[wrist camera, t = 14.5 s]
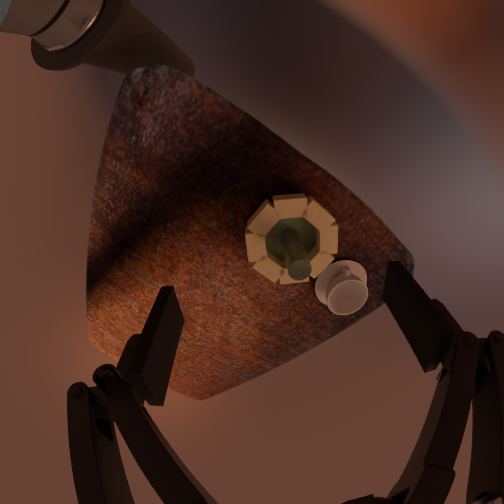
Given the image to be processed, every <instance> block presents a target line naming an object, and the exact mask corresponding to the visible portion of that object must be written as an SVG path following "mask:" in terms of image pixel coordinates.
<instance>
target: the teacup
mask: <svg viewBox="0 0 504 504" xmlns="http://www.w3.org/2000/svg"><path fill="white" fill-rule="evenodd" d="M366 282H367V276H366V272H365V270H364V268H363V267H362V266H361V265H360V264H359V263H357V262H355V261H351V260H342V261H337V262H335V263H332V264H330V265H329V266H327V267H326V268H325V269H324V270H323V271H322V272H321V273H320V274H319V276H318V278H317V280H316V283H315V293H316V296H317V297H318V299H319V300H320V301H321V302H322V303H324V304H326V305H328V307H329V309H330V310H331V311H332V312H333V313H335V314H338V315H347V314H351V313H353V312H355V311H357V310H358V309H360V308H361V307H362V306H363V305H364V303H365V302H366V300H367V297H368V289H367V286H366Z"/></svg>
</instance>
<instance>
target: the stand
mask: <svg viewBox="0 0 504 504" xmlns="http://www.w3.org/2000/svg"><path fill="white" fill-rule="evenodd" d="M265 243H266V250H268V251H269V252H270V253H272V254H273V255H274V256H276V257H277V258H278V259H280V260H281V261H285V262H286V266H287V271H288V274H289V276H290V277H291V278H292V279H294V280H298V281H300V280H304V279H306V278H307V277H309V275H310V274H311V271H312V266H311V264H310V261H309V258H308V256H307V253H308V252H309V251H310V250H311V249H312V248H313V247H314V246H315V245H316V227H315V226H313V225H312V224H311V223H310V222H309V221H308V220H306V219H305V218H304V217H297V218H286V219H280V220H279V221H278V222H277V223H276V224H275V225H274V226H273V228H272V229H271V230H270V231H269V232H268V233H267V234H266V235H265Z"/></svg>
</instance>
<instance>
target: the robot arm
mask: <svg viewBox="0 0 504 504" xmlns="http://www.w3.org/2000/svg"><path fill="white" fill-rule="evenodd" d="M105 4H106V0H0V32H6V33H14V34H20V35H26V36H31V37H32V38H33V39H34V40H35V41H37V42H39V44H40V45H41V46H42V47H43V48H45V49H47V50H49V51H63V50H66V49H68V48H70V47H72V46H74V45H75V44H77V43H78V42H79V41H81V40H82V39H83V38H84V37H85V36H86V35H87V34H88V33H89V32H90V31H91V30H92V29H93V27H94V26H95V25H96V23H97V22H98V20H99V19H100V17H101V15H102V13H103V10H104V7H105ZM382 298H383V300H384V302H385V303H386V305H387V306H388V308H389V310H390V311H391V313H392V315H393V316H394V318H395V320H396V322H397V323H398V325H399V327H400V328H401V330H402V332H403V334H404V335H405V337H406V339H407V341H408V342H409V344H410V346H411V348H412V350H413V352H414V353H415V355H416V357H417V359H418V361H419V363H420V365H421V367H422V369H423V370H424V372H425V373H426V372H429V371H432V370H435V369H436V368H437V366H438V364H439V363H440V362H441V364H442V366H443V367H442V369H441V371H440V372H439V374H438V376H437V378H436V379H438V378H439V379H438V383H437V386H436V390H435V393H434V397H433V400H432V403H431V406H430V409H429V412H428V415H427V418H426V420H425V423H424V426H423V428H422V431H421V434H420V436H419V439H418V441H417V444H416V446H415V448H414V451H413V453H412V455H411V457H410V459H409V461H408V463H407V465H406V468H405V470H404V471H403V474H402V475H401V477H400V479H399V480H398V482H397V483H396V484H395V486H394V487H393V488H392V490H391V491H390V493H389V494H388V496H387V498H384V497H374V496H373V494H371V495H368V496H364V497H361V498H357V499H353V500H349V501H347V502H344V503H342V504H444V502H445V500H446V498H447V495H448V493H449V491H450V489H451V486H452V484H453V481H454V478H455V471H454V470H453V467H454V463H455V461H456V457H457V455H458V451H459V449H460V445H461V442H462V438H463V435H464V431H465V427H466V423H467V419H468V415H469V410H470V405H471V401H472V407H473V409H472V410H473V429H472V430H473V431H472V451H471V462H470V471H469V479H468V485H467V494H466V504H504V334H503V333H501V332H500V331H497V330H494V331H491V332H490V334H489V336H488V338H477V337H476V336H475V335H474V334H473V333H471V332H467V331H465V332H464V331H463V330H462V328H461V327H460V326H459V324H458V323H457V322H456V320H455V319H454V318H453V316H451V314H450V313H449V311H447V309H446V307H445V306H444V305H443V303H441V302H440V301H438V300H437V299H432V300H431V299H430V298H429V297H428V295H427V294H426V293H425V292H424V290H423V289H422V288H421V287H420V285H419V284H418V283H417V282H416V281H415V279H414V278H413V277H412V276H411V275H410V273H409V272H408V271H407V270H406V269H405V268H404V266H403V265H402V264H401V263H400V262H399V261H392V262H388V266H387V273H386V279H385V285H384V290H383V296H382ZM183 324H184V317H183V314H182V311H181V308H180V306H179V303H178V299H177V296H176V293H175V290H174V287H173V286H164V287H161V289H160V291H159V293H158V296H157V298H156V300H155V302H154V305H153V307H152V309H151V312H150V314H149V316H148V319H147V321H146V323H145V326H144V328H143V331H142V333H141V334H133V335H132V336H131V338H130V339H129V340H128V341H127V343H126V345H125V349H124V350H123V352H122V355H121V357H120V360H119V362H118V364H117V367H115V366H114V365H111V364H104V365H102V366H100V367H98V368H97V369H96V370H95V371H94V374H93V381H94V382H95V383H96V385H97V386H95V387H88V386H87V385H86V384H85V383H83V382H76V383H74V384H73V385H71V386H70V388H69V389H68V392H67V419H68V435H69V448H70V457H71V465H72V472H73V478H74V484H75V489H76V494H77V499H78V503H79V504H135V503H134V500H133V497H132V494H131V491H130V488H129V484H128V481H127V478H126V474H125V471H124V467H123V463H122V459H121V455H120V451H119V447H118V442H117V437H116V433H115V427H114V422H115V423H116V425H117V427H118V429H119V431H120V433H121V435H122V437H123V438H124V440H125V442H126V444H127V446H128V448H129V450H130V451H131V453H132V455H133V457H134V458H135V460H136V462H137V463H138V465H139V467H140V468H141V470H142V471H143V473H144V475H145V476H146V478H147V480H148V481H149V483H150V484H151V486H152V487H153V488H154V490H155V491H156V493H157V494H158V496H159V497H160V498H161V500H162V501H163V503H164V504H218V503H217V502H216V501H215V500H214V498H213V497H212V496H211V495H210V494H209V493H208V492H207V491H206V490H205V488H204V487H203V486H202V485H201V484H200V483H199V482H198V480H196V478H195V477H194V476H193V475H192V473H191V472H190V471H189V470H188V468H187V467H186V466H185V465H184V463H183V462H182V461H181V460H180V458H179V457H178V455H177V454H176V453H175V451H174V450H173V449H172V447H171V446H170V445H169V443H168V442H167V440H166V439H165V438H164V436H163V435H162V434H161V432H160V430H159V429H158V427H157V426H156V424H155V423H154V421H153V420H152V418H151V416H150V415H149V414H148V412H147V410H146V408H145V407H144V406H143V405H144V401H145V400H146V401H147V403H148V404H149V405H153V406H163V405H164V400H165V396H166V392H167V387H168V383H169V379H170V375H171V371H172V367H173V363H174V359H175V355H176V351H177V347H178V343H179V339H180V335H181V332H182V328H183Z"/></svg>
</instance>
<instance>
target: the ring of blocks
mask: <svg viewBox="0 0 504 504" xmlns="http://www.w3.org/2000/svg"><path fill="white" fill-rule="evenodd" d="M297 217H304V218H305V219H306V220H308V221H309V222H310V223H311V224H312V225H313V226H315V227H316V245H315V246H314V247H313V248H312V249H311V250H310V251H309V252H308V253H307V256H308V258H309V261H310V264H311V266H312V271H311V274H310V276H312V277H313V278H314V279H315V278H316V277H317V276H318V275H319V274H320V273H321V272H322V271H323V270H324V269H325V268H326V267H327V266H328V265H329V264H330V263H331V262H332V261H333V260H334V259H335V258H334V256H333V255H332V254H335V253H337V247H338V225H337V224H336V222H335V218H334V217H333V216H332V215H331V214H330V213H329V212H328V211H327V210H326V209H325V208H324V207H323V206H322V205H320V204H319V203H318V202H317V201H316V200H315V199H314V198H313V197H311V196H310V195H309V196H308V198H307V197H306V196H305V194H304V193H299V194H287V195H276V196H273V203H271V202H270V201H269V200H268V199H266V200H265V201H264V202H263V204H262V205H261V206H260V207H259V208H258V209H257V211H256V212H255V213H254V214H253V215H252V216H251V218H250V219H249V220H248V221H247V228H245V239H246V247H247V254H248V262H252V268H254V269H255V270H257V271H258V272H260V273H261V274H262V275H264V276H265V277H267V278H268V279H270V280H271V281H273V282H274V283H275V282H276V281H277V280H278V279H280V284H289V283H299V282H308V281H309V277H307V278H306V279H304V280H300V281H298V280H294V279H292V278H291V277H290V276H289V274H288V271H287V266H286V262H285V261H281V260H280V259H278V258H277V257H276V256H274V255H273V254H272V253H270V252H269V251H268V250H266V243H265V235H266V234H267V233H268V232H269V231H270V230H271V229H272V228H273V226H274V225H275V224H276V223H277V222H278V221H279V220H280V219H286V218H297Z"/></svg>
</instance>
